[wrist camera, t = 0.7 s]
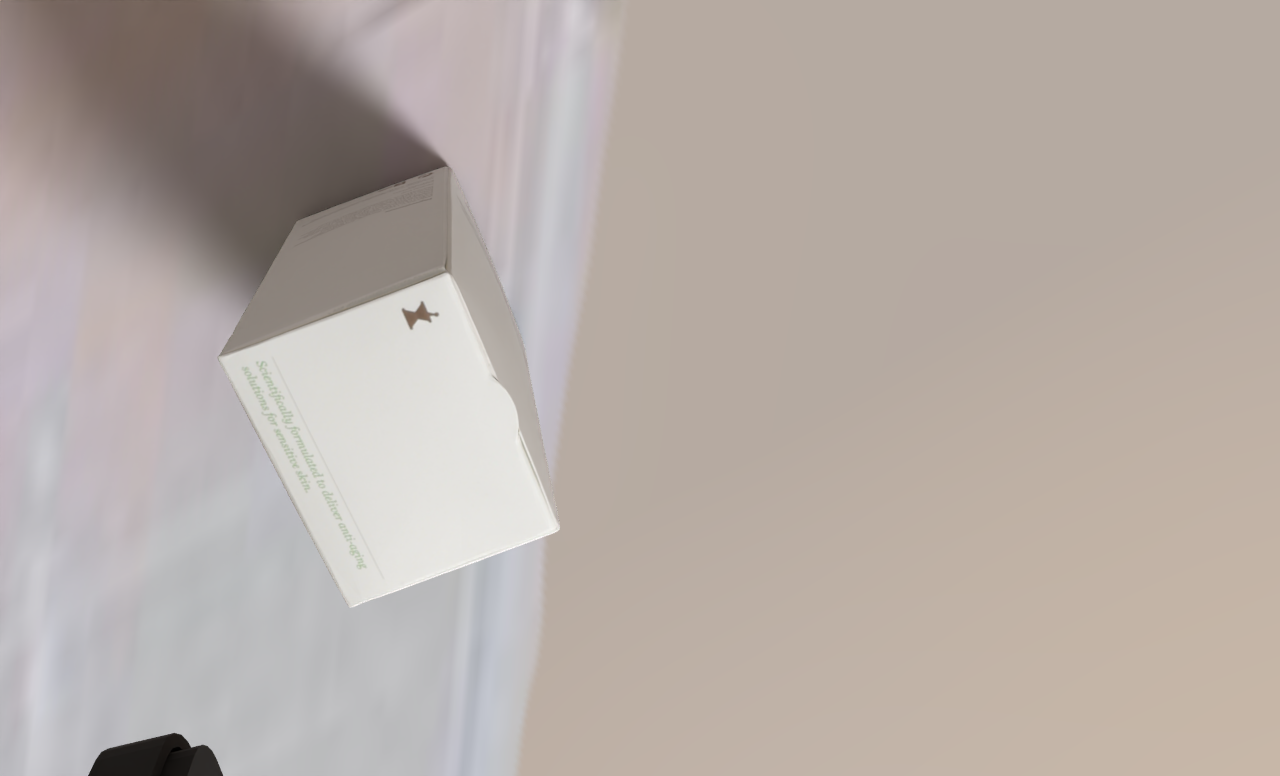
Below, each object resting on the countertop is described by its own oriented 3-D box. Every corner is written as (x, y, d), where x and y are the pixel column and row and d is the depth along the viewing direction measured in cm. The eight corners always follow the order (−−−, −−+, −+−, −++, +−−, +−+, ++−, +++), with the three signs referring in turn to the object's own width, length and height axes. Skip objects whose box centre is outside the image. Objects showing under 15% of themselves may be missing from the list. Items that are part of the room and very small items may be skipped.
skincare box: (294, 217, 42) (194, 343, 28) (462, 156, 42) (450, 250, 28) (384, 414, 45) (337, 620, 31) (540, 357, 45) (568, 536, 31)
